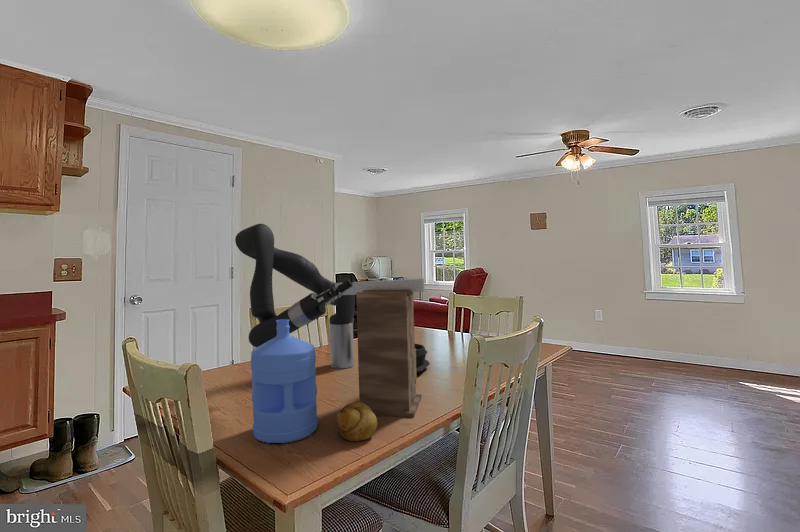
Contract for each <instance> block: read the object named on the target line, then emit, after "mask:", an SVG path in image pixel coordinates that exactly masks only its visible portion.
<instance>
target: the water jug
mask: <svg viewBox="0 0 800 532" xmlns="http://www.w3.org/2000/svg"><path fill="white" fill-rule="evenodd" d="M276 322H277V327H276V329H277V335H276V337H275V338H273V339H271V340H269V341H268V342H266V343H264V344H262V345H260V346H259V347H255V348H254V349H252V351H251V352H250V355H251V356H250V369H251V390H252V391H251V401H252V402H251V403H252V413H253V414H252V416H253V420H252V421H253V422H252V423H253V424H252V434H253V436H254V438H255V439H256V440H258V441H259V442H261V441H262V442H261V443H264V442H266V443H265V444H270V443H282V444H289V443H293V441H294V442H298V441H300V440H302V439H306V438H307V437H309V436H310V435H312V434H313V433H314V432H316V430H317V428H318V423H319V419H318V406H317V404H318V403H317V394H318V389H317V387H318V386H317V376H316V375H317V372H316V363H317V355H316V349H315V348H316V347H315V345H314V344H313V343H311V342H307V341H305V340H302V339H300V338H298V337H294V336H292V335H291V333H289V328H290V326H289V319H279V320H276ZM288 442H289V443H288Z"/></svg>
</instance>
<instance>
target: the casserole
mask: <svg viewBox="0 0 800 532" xmlns="http://www.w3.org/2000/svg"><path fill="white" fill-rule="evenodd" d="M414 344H415V348H416V373H420V372H423V371H424V370H425V368H427V367H428V366H430V362H429V360H427V359H426V355H427V353H428V351H427V350H426V347H425V345H422V344H420V343H414Z"/></svg>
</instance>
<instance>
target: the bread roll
mask: <svg viewBox="0 0 800 532" xmlns="http://www.w3.org/2000/svg"><path fill="white" fill-rule="evenodd" d="M336 421H337V424H338V425H337V426H338V432H339V434H340V436H341V437H342V438H343V439H344V440H346V441H349V442H360V441H365V440H368V439H370V438H371V437H373V435H375V433H376V432H377V429H378V418H377V415H375V414H374V413H373V412H372V410H371V409H370V408H369V407H368V406H367V405H365V404H364V403H362V402H359V401H354V402H351V403H350V402H349V403H347V404H346V405H344V406H343V408H341V409H340V410H339V411H338V413H337V414H336Z"/></svg>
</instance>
